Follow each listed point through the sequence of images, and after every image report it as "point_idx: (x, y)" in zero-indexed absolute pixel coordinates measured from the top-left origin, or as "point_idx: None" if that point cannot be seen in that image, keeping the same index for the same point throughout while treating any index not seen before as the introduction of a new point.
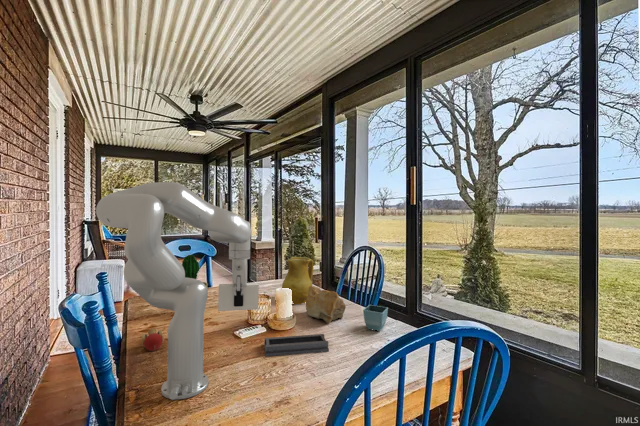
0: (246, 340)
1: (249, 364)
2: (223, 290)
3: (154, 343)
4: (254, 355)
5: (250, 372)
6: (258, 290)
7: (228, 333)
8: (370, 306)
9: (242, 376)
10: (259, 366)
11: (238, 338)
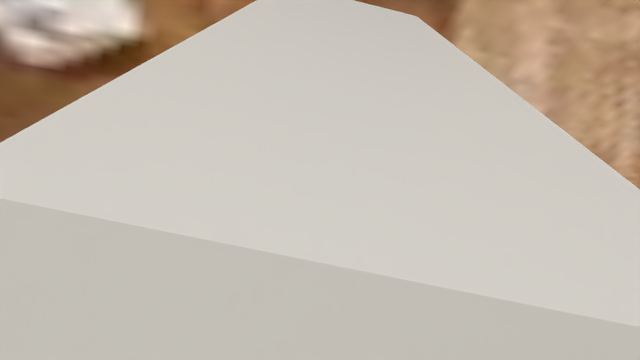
0: (186, 13)
1: (513, 69)
2: None
3: None
4: (424, 15)
5: (596, 83)
6: (571, 137)
7: (52, 100)
8: None
9: (604, 126)
10: (570, 22)
11: (142, 56)
